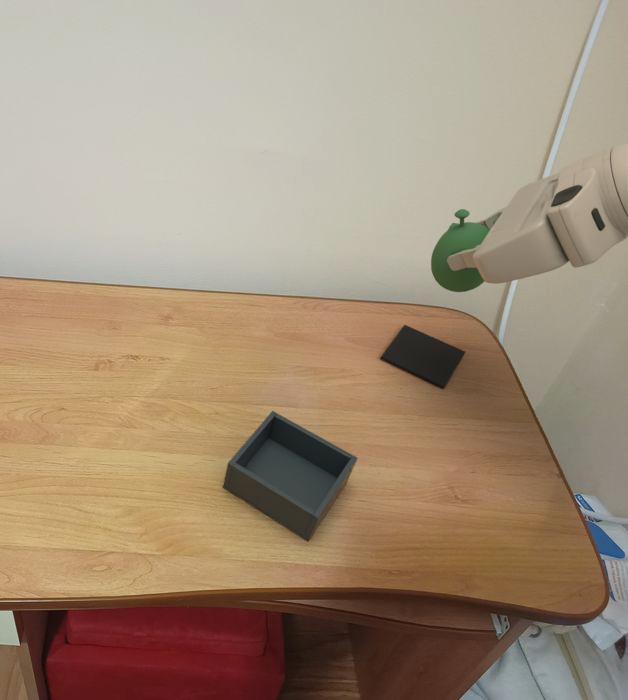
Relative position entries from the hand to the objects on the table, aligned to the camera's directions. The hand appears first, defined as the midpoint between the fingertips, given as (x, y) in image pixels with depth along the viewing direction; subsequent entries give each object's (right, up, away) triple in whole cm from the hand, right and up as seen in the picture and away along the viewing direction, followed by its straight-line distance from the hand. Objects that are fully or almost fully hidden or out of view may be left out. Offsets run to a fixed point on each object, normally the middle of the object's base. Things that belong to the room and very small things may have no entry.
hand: (461, 247), depth 74 cm
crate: (-21, -27, -3) cm, 35 cm away
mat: (+1, -13, +14) cm, 19 cm away
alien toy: (0, -4, +4) cm, 6 cm away
